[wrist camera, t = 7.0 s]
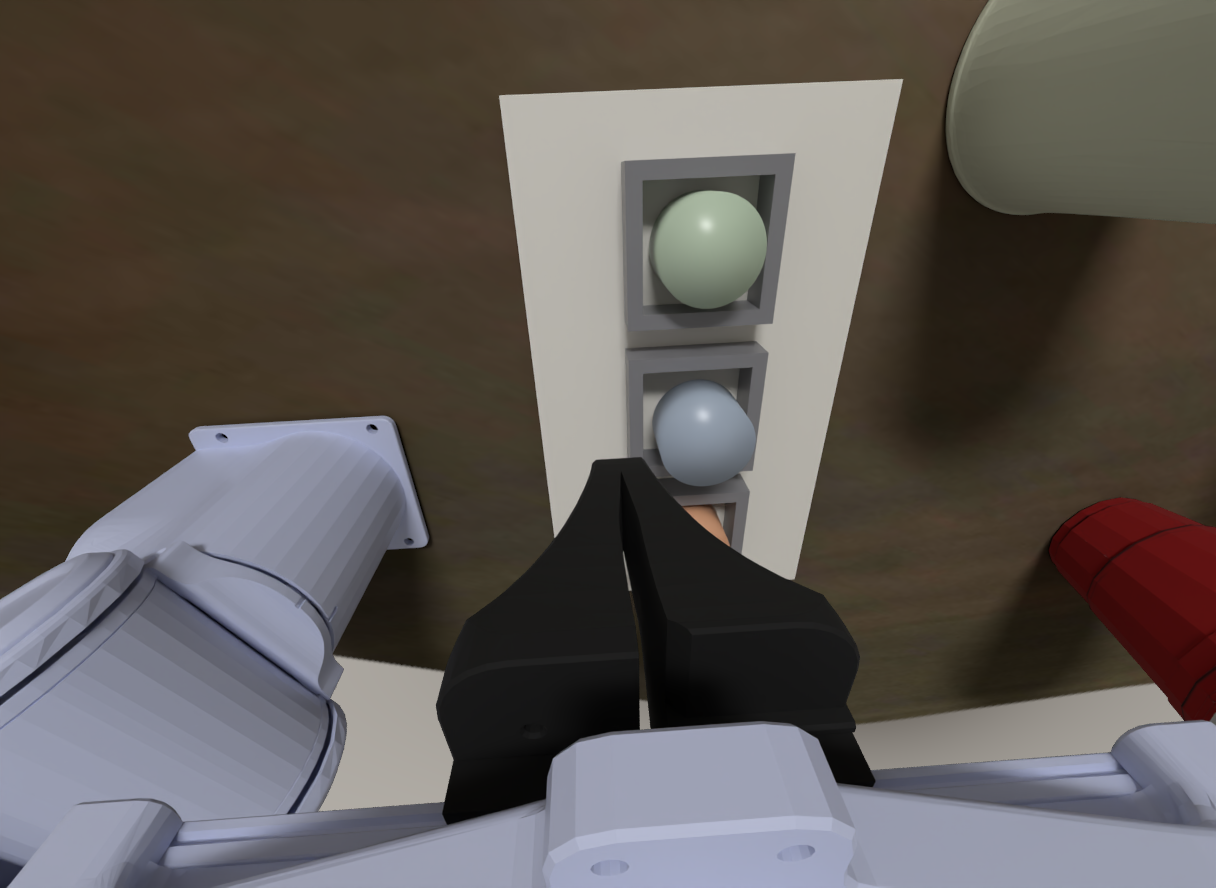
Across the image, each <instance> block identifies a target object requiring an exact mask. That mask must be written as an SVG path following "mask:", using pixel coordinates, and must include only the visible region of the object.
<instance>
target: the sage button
mask: <svg viewBox="0 0 1216 888" xmlns="http://www.w3.org/2000/svg"><path fill="white" fill-rule="evenodd" d="M766 251H767V236H766V231H765V227H764V224H763V221H762V219H761V217H760V215H759V213H758V212H757V210H756V209H755V208H754V207H753V206H752V205H751V204H750V203H749V202H748V201H747V200H745V199H744V198H742V197H740V196H738V195H736V194H733V193H729V192H722V191H712V190H695V191H690V192H687V193H684V194H682V195H680V196H678V197H677V198H675V199H673V200H672V201H671V202H670V203H669V204H668V205H667V206H666V207H665V208H664V209H663V210H662V211H661V213H660V214H659V216H658V217H657V219H656V221H655V223H654V225H653V228H652V231H651V235H650V240H649V255H650V260H651V264H652V267H653V269H654V271H655V273H656V275H657V276H658V278H659V279H660V280H661V281H662V283H663V284H664V285H665V286H666V288H667V289H668V290H669V291H670V293H671V294H672V295H673V296H674V297H675V298H677V299H678V300H679V301H681V302H682V303H684V304H686V305H688V306H691V307H695V308H700V309H712V308H718V307H722V306H724V305H727V304H729V303H731V302H733V301H735V300H736V299H738V298H739V297H741V296H742V295H743V294H744V293H745V292H746V291H747V290H748V289H749V288H750V287H751V286H752V285H753V283H754V282H755V280H756V279H757V277H758V275H759V274H760V271H761V269H762V267H763V264H764V261H765V256H766Z"/></svg>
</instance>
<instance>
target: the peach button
mask: <svg viewBox="0 0 1216 888" xmlns="http://www.w3.org/2000/svg"><path fill="white" fill-rule="evenodd" d="M682 507H683V508H684V509H685V510H686V511H687V512H688V513H689V514H690V515H691V516H692V517H693V518H694V519H695V520H696V521H697V522H698V523H700V524H701V525H702V526H703V527H704V528H705V529H707V530H708V531H709V532H710V533H712V534H713V535H714V536H715V537H717V538H718V539H719V540H721V541H722V542H724V543H725V544H727V545H728V546H730V544H729V541H728V539H727V537H726V534H725V532H724V529H723V527H722V524H721V522H720V519H719V517H718V515H717V512H716V510H715V508H714V507H713V506H712V505H711V504H702V505H687V506H682Z"/></svg>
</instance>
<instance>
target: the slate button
mask: <svg viewBox="0 0 1216 888" xmlns="http://www.w3.org/2000/svg"><path fill="white" fill-rule="evenodd" d="M652 425H653V431H654V435H655V438H656V442H657V445H658V449H659V452H660V455H661V459H662V462H663V464H664V466H665V468H666V470H667V471H668V472H669V473H670V474H671V475H672V476H673V477H674V478H675V479H677V480H678V481H680V482H682V483H685V484H688V485H692V486H711V485H716V484H719V483H722V482H725V481H727V480H729V479H730V478H732V477H734V476H735V475H736V474H738V473H739V472H740V471H741V470H742V469H743V468H744V467H745V466H746V465H747V463H748V462H749V460H750V459H751V457H752V455H753V452H754V449H755V444H756V434H755V430H754V427H753V424H752V422H751V421H750V419H749V418H748V416H747V415H746V414H745V412H744V411H743V409H742V408H741V407H740V405H739V404H738V402H737V401H736V399H735V398H734V397H733V395H732V394H731V393H730V392H729V390H728V389H726V388H725V387H724V386H722V385H721V384H719V383H716V382H714V381H710V380H704V379H697V380H690V381H686V382H683V383H681V384H679V385H677V386H675V387H673V388H672V389H670V390H669V391H668V392H667V393H665V395H664V396H663V397H662V398H661V399H660V401H659V402H658V404H657V406H656V408H655V410H654V414H653V420H652Z"/></svg>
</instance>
